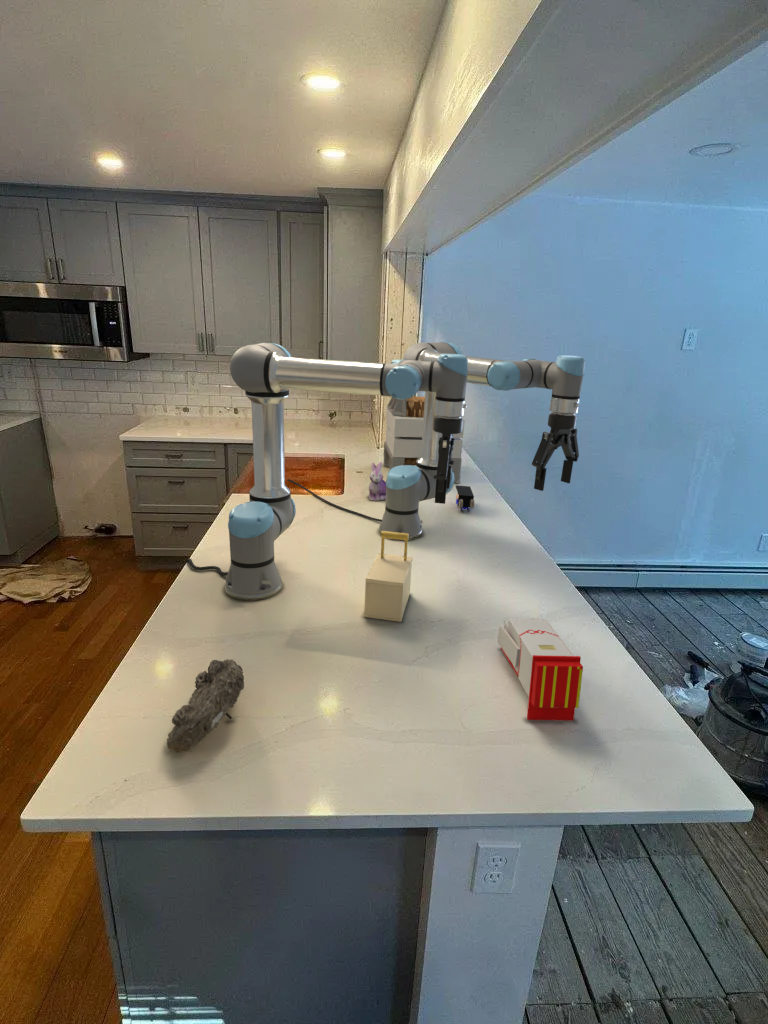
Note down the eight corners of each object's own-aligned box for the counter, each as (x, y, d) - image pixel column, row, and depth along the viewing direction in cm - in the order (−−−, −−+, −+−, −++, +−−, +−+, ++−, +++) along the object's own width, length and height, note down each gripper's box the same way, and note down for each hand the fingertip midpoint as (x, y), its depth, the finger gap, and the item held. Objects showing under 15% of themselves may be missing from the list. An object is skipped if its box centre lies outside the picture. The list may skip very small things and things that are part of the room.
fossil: (192, 660, 117) (244, 628, 112) (224, 691, 120) (276, 661, 115) (142, 746, 98) (202, 712, 93) (182, 779, 101) (242, 748, 96)
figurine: (373, 502, 230) (374, 466, 225) (362, 495, 239) (363, 460, 234) (393, 500, 234) (395, 464, 229) (382, 492, 243) (383, 458, 238)
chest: (376, 590, 160) (377, 557, 156) (409, 594, 158) (411, 562, 155) (364, 617, 145) (365, 582, 142) (401, 621, 144) (403, 587, 140)
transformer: (382, 463, 289) (386, 382, 275) (445, 464, 293) (451, 384, 279) (390, 482, 257) (394, 392, 243) (460, 483, 261) (468, 394, 247)
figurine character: (474, 517, 223) (468, 500, 237) (476, 499, 220) (470, 484, 233) (457, 516, 223) (452, 500, 236) (459, 499, 220) (454, 483, 233)
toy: (543, 604, 136) (592, 662, 106) (538, 656, 138) (584, 727, 109) (493, 603, 135) (528, 661, 106) (489, 655, 138) (522, 726, 109)
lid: (378, 556, 157) (379, 527, 154) (412, 560, 155) (414, 530, 152) (365, 582, 142) (366, 550, 139) (403, 586, 140) (405, 554, 138)
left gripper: (460, 426, 133) (452, 511, 141) (465, 409, 156) (459, 483, 164) (428, 424, 135) (422, 508, 142) (438, 407, 158) (433, 481, 165)
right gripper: (548, 419, 148) (537, 496, 155) (598, 411, 163) (586, 482, 171) (525, 414, 153) (515, 489, 160) (575, 407, 169) (564, 476, 176)
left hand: (442, 495), depth 153 cm, fingers open, 13 cm apart
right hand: (552, 485), depth 166 cm, fingers open, 13 cm apart
